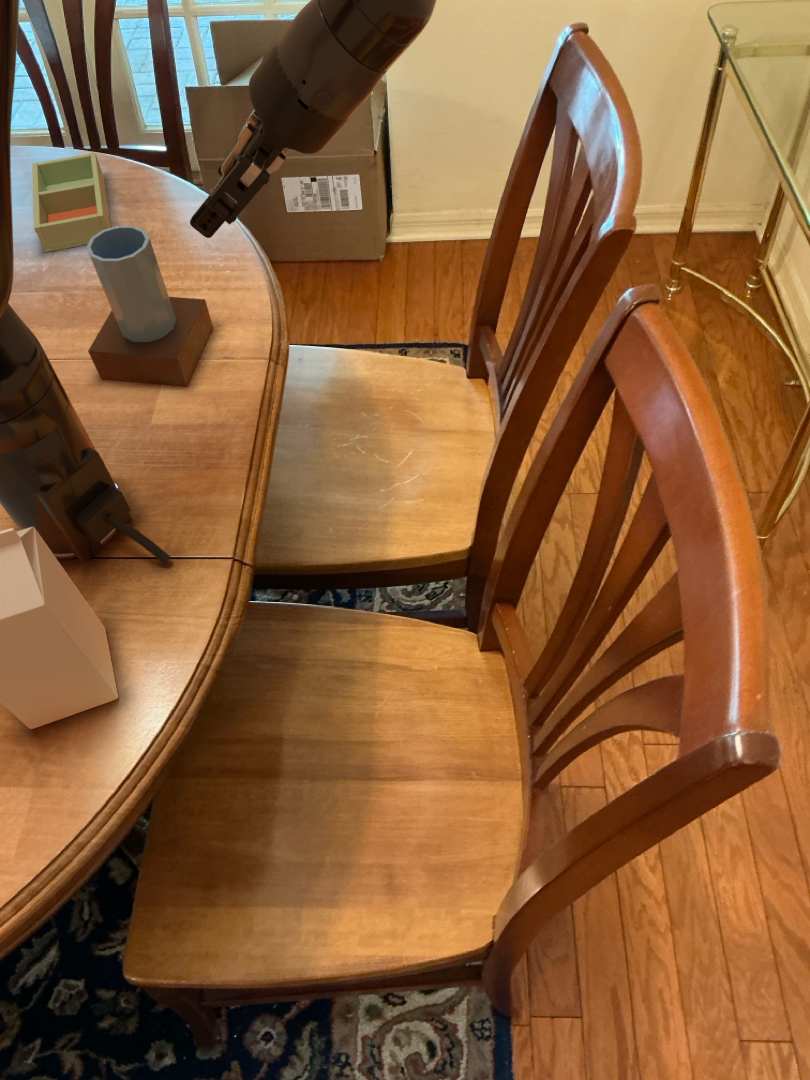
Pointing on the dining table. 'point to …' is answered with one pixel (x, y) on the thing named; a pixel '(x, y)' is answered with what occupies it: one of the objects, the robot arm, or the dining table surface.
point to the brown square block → (155, 348)
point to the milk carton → (47, 636)
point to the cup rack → (69, 201)
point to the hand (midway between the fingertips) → (213, 203)
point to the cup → (132, 282)
